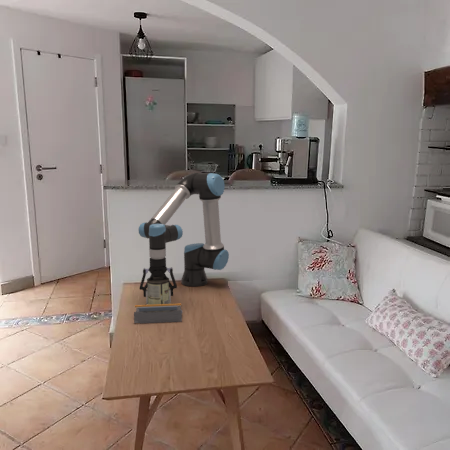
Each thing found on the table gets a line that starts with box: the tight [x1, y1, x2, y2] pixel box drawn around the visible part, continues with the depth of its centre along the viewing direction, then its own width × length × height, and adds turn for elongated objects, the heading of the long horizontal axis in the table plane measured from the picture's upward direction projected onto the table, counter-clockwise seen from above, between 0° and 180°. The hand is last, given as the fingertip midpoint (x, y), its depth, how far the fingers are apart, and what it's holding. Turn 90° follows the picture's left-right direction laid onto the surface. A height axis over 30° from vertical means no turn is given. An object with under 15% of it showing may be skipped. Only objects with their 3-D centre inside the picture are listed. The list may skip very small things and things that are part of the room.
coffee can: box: [146, 276, 170, 305], centre depth 203 cm, size 10×10×14 cm
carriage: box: [134, 302, 182, 312], centre depth 197 cm, size 22×3×5 cm, turn 98°
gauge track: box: [133, 304, 183, 324], centre depth 200 cm, size 21×18×5 cm
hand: (158, 302), depth 204 cm, fingers closed on coffee can, 10 cm apart
